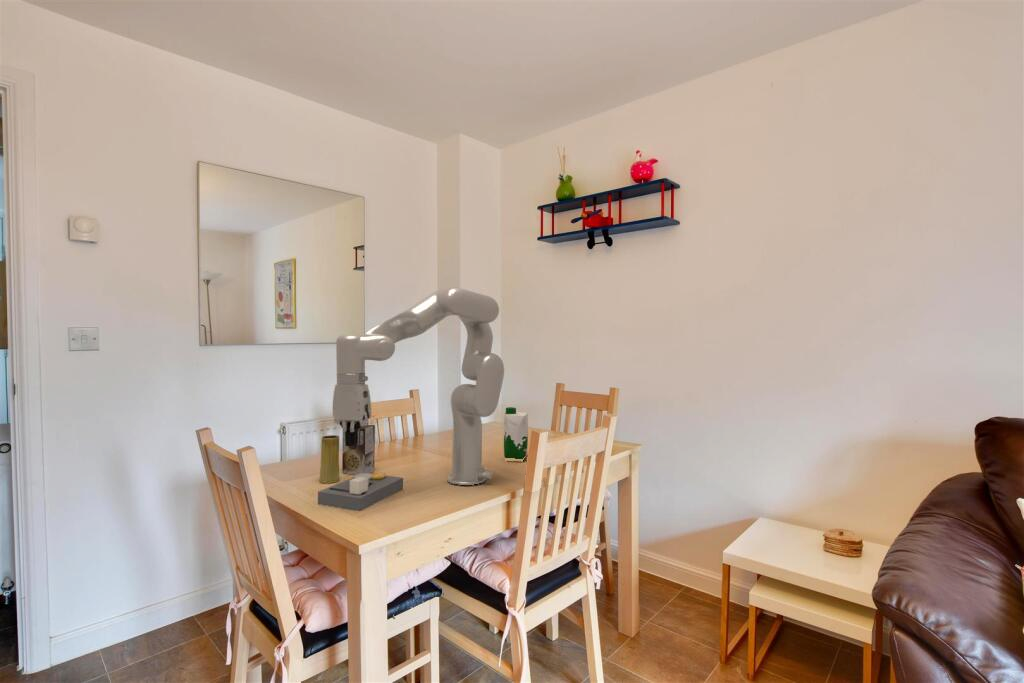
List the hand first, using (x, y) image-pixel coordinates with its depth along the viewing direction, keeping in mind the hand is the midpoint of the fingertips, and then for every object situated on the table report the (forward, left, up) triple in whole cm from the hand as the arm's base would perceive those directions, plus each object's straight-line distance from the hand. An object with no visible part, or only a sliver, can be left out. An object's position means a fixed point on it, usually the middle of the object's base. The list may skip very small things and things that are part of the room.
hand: (351, 445), depth 138 cm
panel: (+1, -7, -16) cm, 18 cm away
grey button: (+1, -7, -13) cm, 15 cm away
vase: (+20, -15, -17) cm, 30 cm away
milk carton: (-25, -66, -17) cm, 73 cm away
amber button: (+1, -14, -15) cm, 20 cm away
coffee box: (+18, -27, -17) cm, 36 cm away
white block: (-3, 0, -15) cm, 15 cm away
